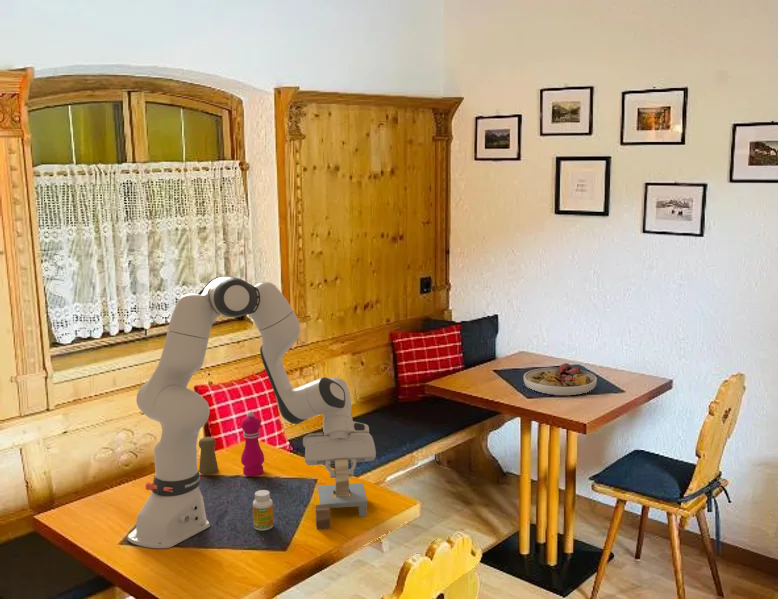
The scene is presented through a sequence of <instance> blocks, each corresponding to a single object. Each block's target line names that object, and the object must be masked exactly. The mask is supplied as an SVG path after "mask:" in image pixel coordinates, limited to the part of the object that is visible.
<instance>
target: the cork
mask: <svg viewBox="0 0 778 599" xmlns="http://www.w3.org/2000/svg"><path fill="white" fill-rule="evenodd" d="M216 445H217V444H216V439H215V438H214V437H212V436H204V437H202V438H200V439H199V441H198V447H199V449H200V453H199V454H200V456H199V465H198V468H199V469H198V470H199V472H200V473H201V474H200V473H199V474H200V475H203V474H208V475H207V476H210V475H213V474H217V473H218V472H219V467H218V461H217V456H216V452H215V451H216V450H215V447H216ZM209 474H210V475H209Z"/></svg>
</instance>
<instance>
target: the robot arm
mask: <svg viewBox="0 0 778 599" xmlns="http://www.w3.org/2000/svg"><path fill="white" fill-rule="evenodd" d="M246 315H248V316H249V317H250V318H251V320H253V322H254V324H255V326H256V328H257V330H258V331H259V333H260V336H261V341H262V343H261V346H260V348H259V352H260V357H261V361H262V364H263V367H264V369H265V372H266V374H267V377H268V380H269V382H270V384H271V388H272V390H273V392H274V395H275V398H276V401H277V402H276V403H277V406H278V410H279V412H280V415H281V417H282V418H283V419H284V420H285V421H287V422H288V423H291V424H293V425H298V424H301V423H303V422H305V421H308V420H309V419H311V418H314V417H316V416H318V415H319V416H320V415H322V416H323V419H322V430H323V431H322V432H315V433H314V432H313V433H312V432H310V433H307V434H306V435H304V436H303V438H302V445H303V447H304V448H305V450H304V463H305V464H306V465H307V466H319V465H325V468H326V470H327V471H328V472H329V477H330V479H335V477H336V474H335V469H332V466H331V465H335V459H334V458H347V459H348V464H349V463H350V466H351V467H350V468H348V472H349V478H351V477H352V478H353V477H354V470H355V469H356V467H357V463H364V462H373V461H374V460H375V459H376V455H377V453H376V452H377V450H376V446H375V445H376V444H375V442H374V438H373V436H372V435H371V434H370V427H369V425H368V424H366V423H363V422H357V421H354V419H353V417H352V408H353V407H352V406H353V405H352V400H351V393H350V388H349V387H348V384H347V382H346V380H344V379H342V378H339V377H331V378H329V377H324V376H323V377H321V378H317V379H314V380H312V381H309V382H307V383H305V384H302V385H299V386H297V387H294V386H292V384H291V382H290V380H289V377H288V374H287V372H286V369H285V367H284V364H283V358H284V356H285V354H286V353H287V352H288V351H289V350H290V349H291V348H292V347H293V346H294V345H295V343H297V341H298V338H299V336H300V335H301V334H300V333H301V325H300V320H299V319H298V317H297V314H296V313H295V311H294V310H293V308H292V306H291V304H290V303H289V301H288V300H287V298H286V297H285V295H284V294H283V293H282V292H281V291H280V289H279V288H278V287H277V286H276V285H275V284H273V283H271V282H270V281H269V282H267V281H264V282H259V283H257V284H255V285H253V284H250V283H249V282H247V281H246V280H244V279H242V278H239V277H236V276H233V275H222V276H221V275H220V276H216V277H214V278H212V279H211V280H210V281H209V282H207V283H206V284H205V286H204V287H203V288H201V290H200V291H199V292H198V293H187V294H184V295H182V296H180V297H179V298H178V299H177V303H176V304H175V307H174V308H173V311H172V314H171V317H170V321H169V324H168V327H167V333H166V336H165V340H164V344H163V349H162V352H161V356H160V359H159V362H158V364H157V366H156V368H155V370H154V372H153V373H152V375H151V377H150V378H149V379H148V380H147V381H146V382H145V383H144V384H142V385H141V386H140V388H139V389H138V391H137V394H136V405H137V407H138V409H139V410H140V411H141V412H142V413H143V414H144V415H145V416H146V417H147V418H148V419H151V420H153V421H155V422H157V423H160V425H161V435H160V440H159V442H156V444H155V446H154V449H153V455H154V467H155V468H154V469H155V474H154V476H153V480H152V482H146V484H145V486H144V488H145V490H147V491H151V493H150V495H149V496H148V498H147V500H146V501H145V503H144V504H143V506H142V508H141V509H140V511H139V512H138V514H137V516H136V524H135V525H136V527H135V528H134V529H133V530H132V531H131V532H130V533H129V534H128V535H127V539H126V540H128V542H130V543H131V544H132V545H136V546H139V547H140V546H141V547H145V548H152V549H169V548H172V547H174V546H175V545H178V544H179V543H181V542H183V541H186V540H187V539H189V538H190V537H193V536H195V535H196V534H198V533H200V532H202V531H204V530H207V529H208V528H210V526H211V525H210V522H209V520H208V519H207V514H206V507H205V502H204V497H203V494H202V492H201V489H200V483H201V480H200V479H201V475H200V473H199V469H198V456H197V454H198V453H197V443H198V437H199V433H200V431H201V429H202V428H203V427H204V426H205V425H206V424H207V422H208V420H209V416H210V413H211V412H210V406H209V403H208V401H207V400H206V398H204V397H203V396H202V395H201V394H199V393H198V392H197V391H196V390H193V389H190V388H188V385H189V383H190V381H191V378H192V377H193V375H194V374H195V373H196V372H198V371H200V370H201V369H202V367H203V365H204V362H205V357H206V353H207V347H208V344H209V339H210V335H211V330H212V326H213V324H214V322H215V320H216V319H217V318H219V317H220V316H221V317H224V318H225V317H226V318H239V317H244V316H246Z"/></svg>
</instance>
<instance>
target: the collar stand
mask: <svg viewBox="0 0 778 599" xmlns="http://www.w3.org/2000/svg"><path fill="white" fill-rule="evenodd" d="M365 490H366V489H365V487H364V484H363V482H356V483H349V496H348V497H336V496H335V495H336V490H335V484H326V485H325V484H324V485H322V484H321V485H318V486H317V491H318V502H319V505H321V504H329V508H330V509H333V508H337V509H338V508H349V507H350V508H351V507H358V516H359V517H367V506H368V499H367V498H368V497H367V495H366V491H365Z"/></svg>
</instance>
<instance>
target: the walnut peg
mask: <svg viewBox="0 0 778 599" xmlns="http://www.w3.org/2000/svg"><path fill="white" fill-rule="evenodd" d="M330 509H331V508H329V504H321V505H320V504H315V523H316V531H317V530H330V529H331V510H330Z"/></svg>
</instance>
